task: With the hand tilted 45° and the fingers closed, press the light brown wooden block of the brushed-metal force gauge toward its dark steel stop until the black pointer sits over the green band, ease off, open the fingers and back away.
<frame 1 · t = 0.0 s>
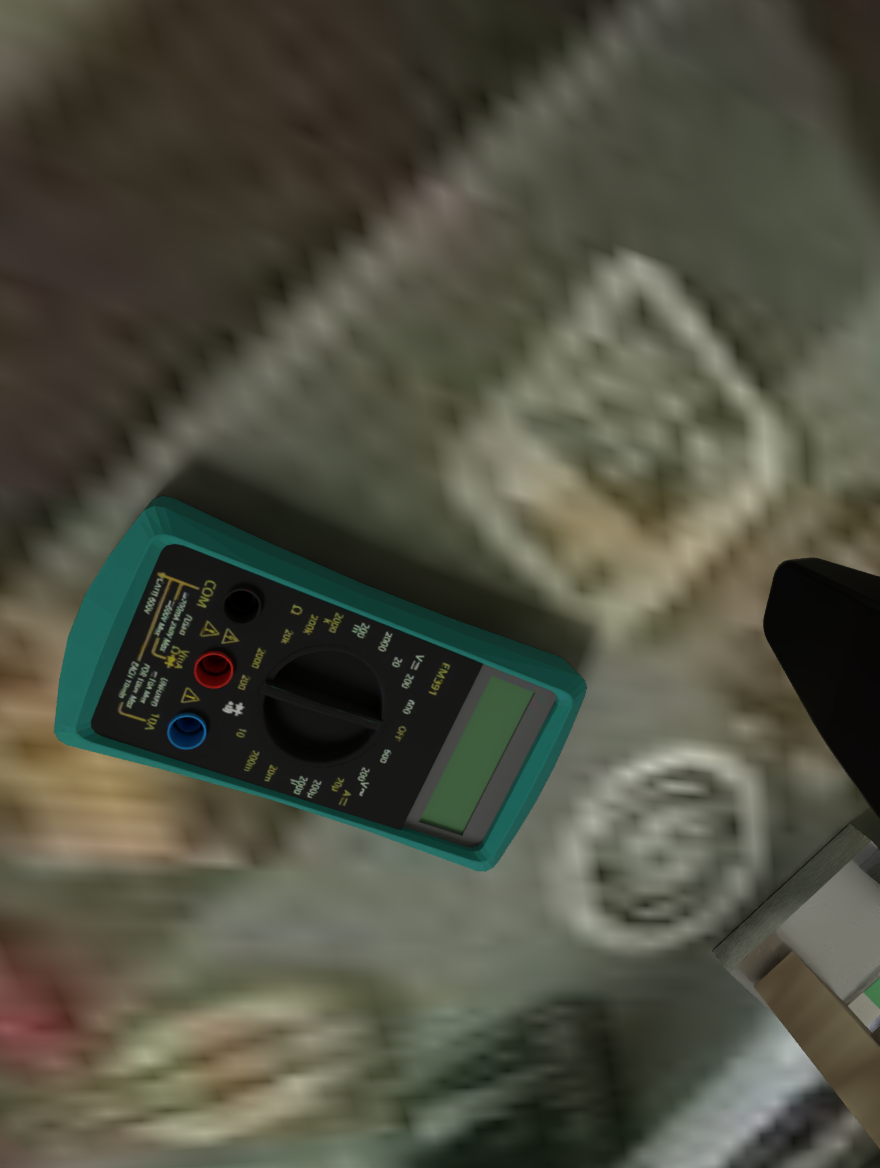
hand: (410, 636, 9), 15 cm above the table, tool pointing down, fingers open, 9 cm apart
gauge base: (820, 928, 33), on the table
digital multimeter: (331, 677, 26), on the table
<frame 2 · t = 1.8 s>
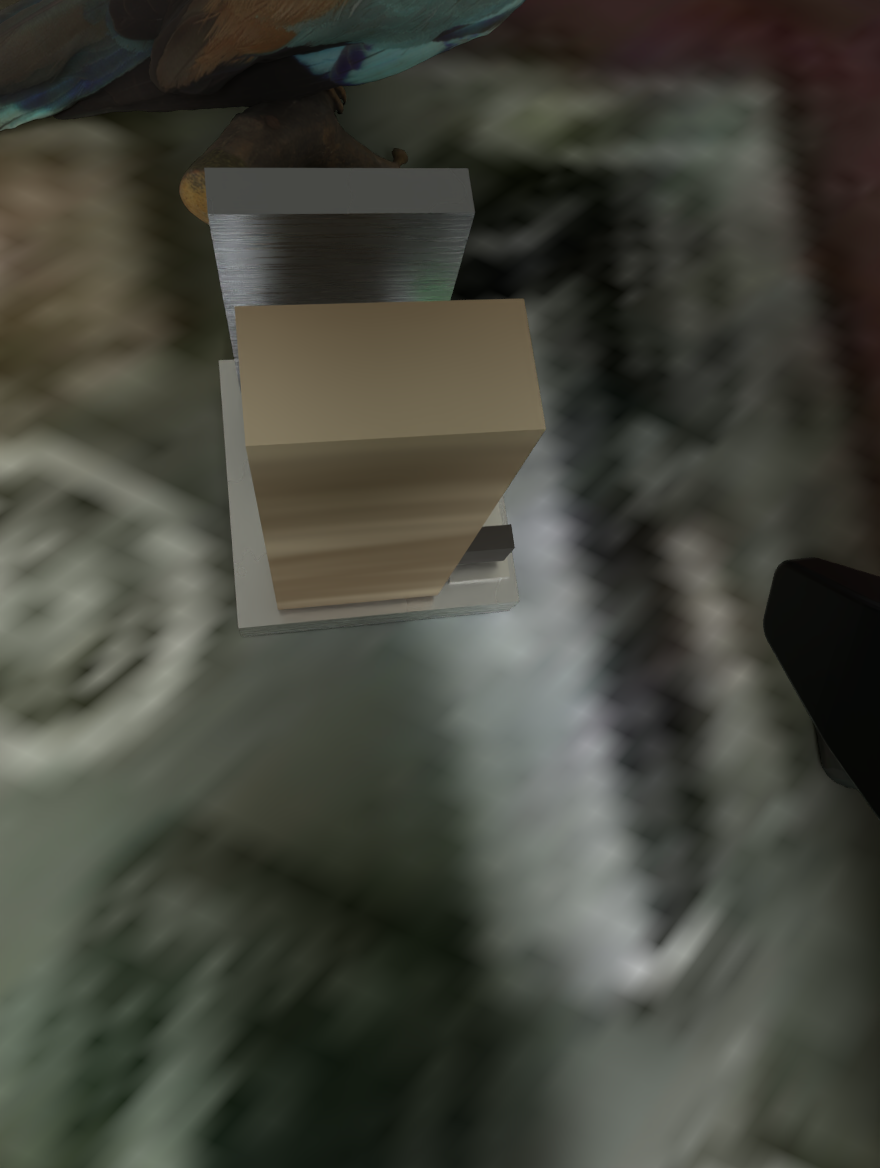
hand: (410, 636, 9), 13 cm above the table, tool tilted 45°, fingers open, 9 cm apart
gauge base: (343, 496, 22), on the table
light brown wooden block: (412, 481, 16), point 7 cm above the table, slide at 0.0 cm
bird figurine: (300, 166, 25), on the table
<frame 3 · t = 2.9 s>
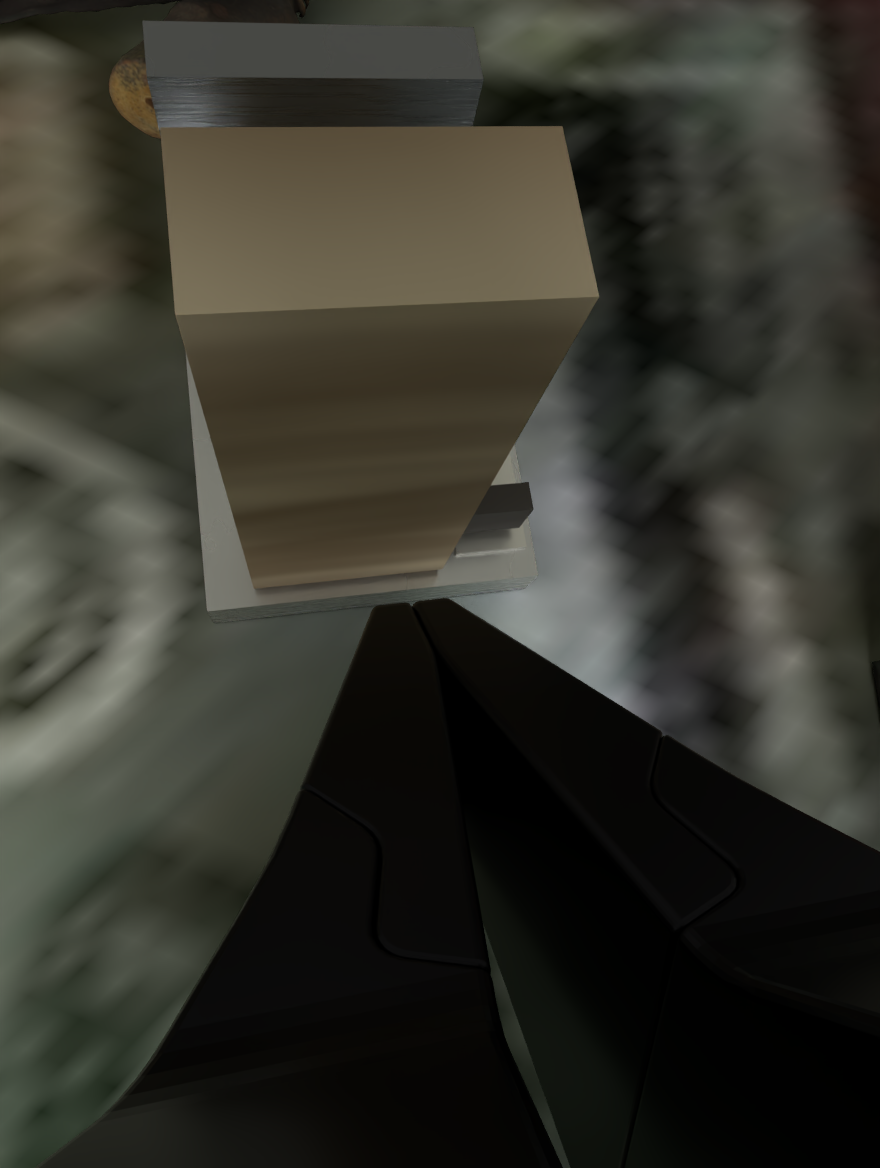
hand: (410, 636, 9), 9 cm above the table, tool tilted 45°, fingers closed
gauge base: (330, 460, 19), on the table
light brown wooden block: (411, 416, 13), point 6 cm above the table, slide at 0.0 cm
bird figurine: (259, 87, 22), on the table
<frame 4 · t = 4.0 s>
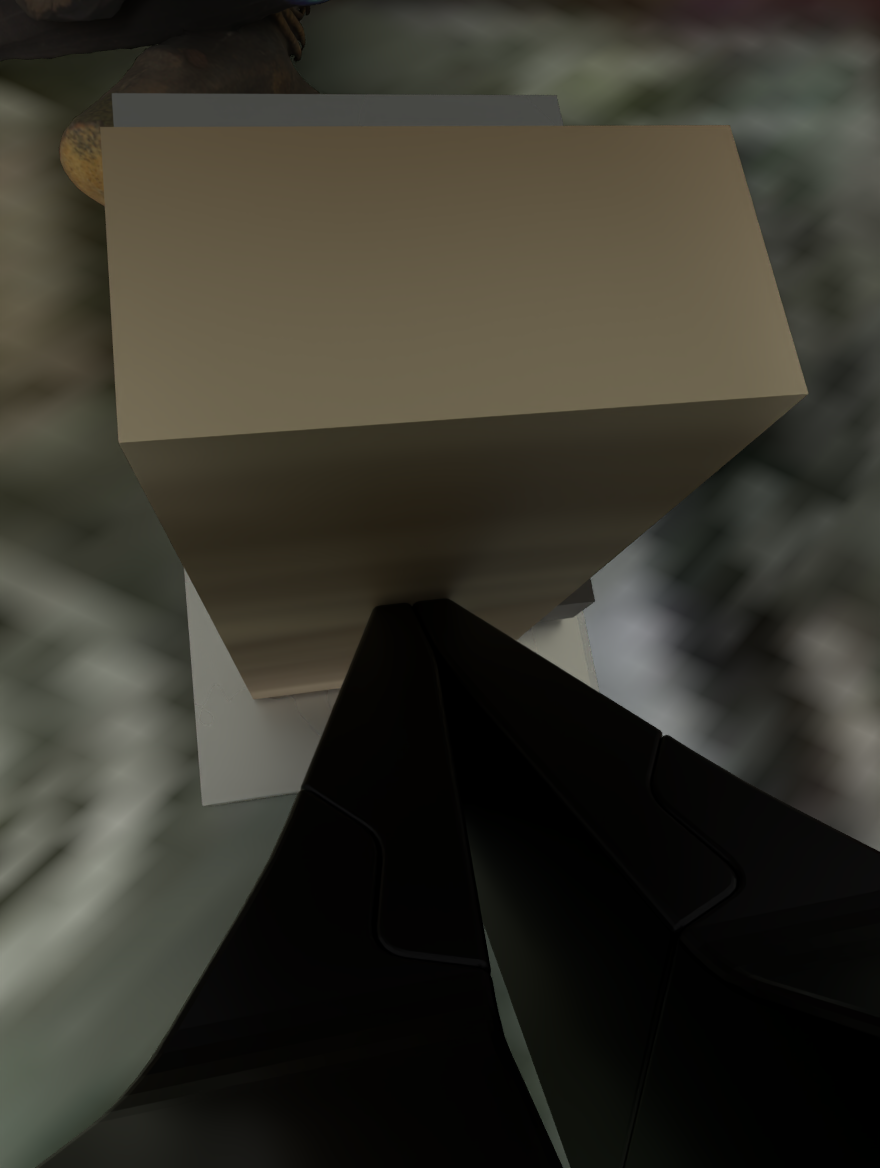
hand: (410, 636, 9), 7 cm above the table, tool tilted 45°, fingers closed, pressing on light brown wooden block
gauge base: (351, 593, 16), on the table
light brown wooden block: (459, 510, 10), point 7 cm above the table, slide at 1.3 cm, touching gripper
bird figurine: (248, 139, 19), on the table
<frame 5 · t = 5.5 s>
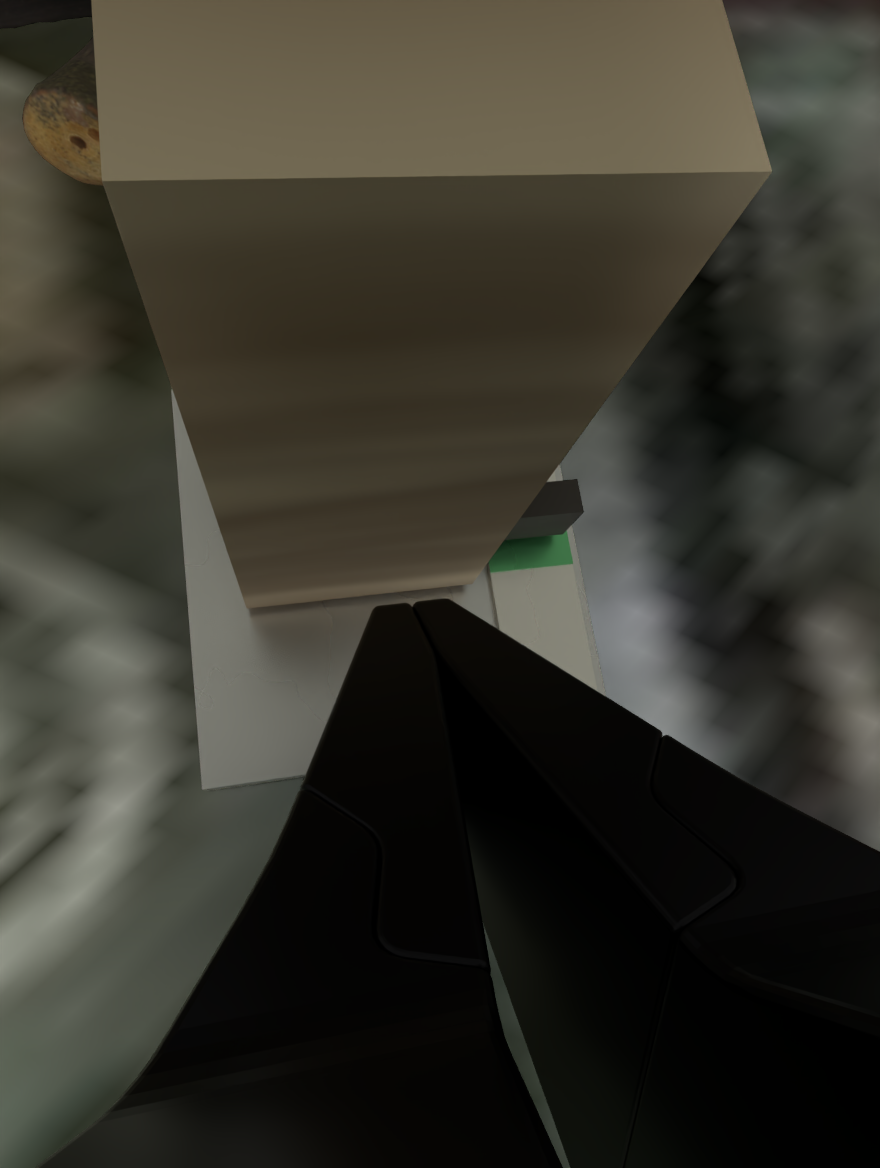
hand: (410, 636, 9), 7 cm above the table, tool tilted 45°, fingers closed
gauge base: (353, 577, 16), on the table
light brown wooden block: (446, 390, 10), point 7 cm above the table, slide at 2.6 cm
bird figurine: (221, 112, 19), on the table
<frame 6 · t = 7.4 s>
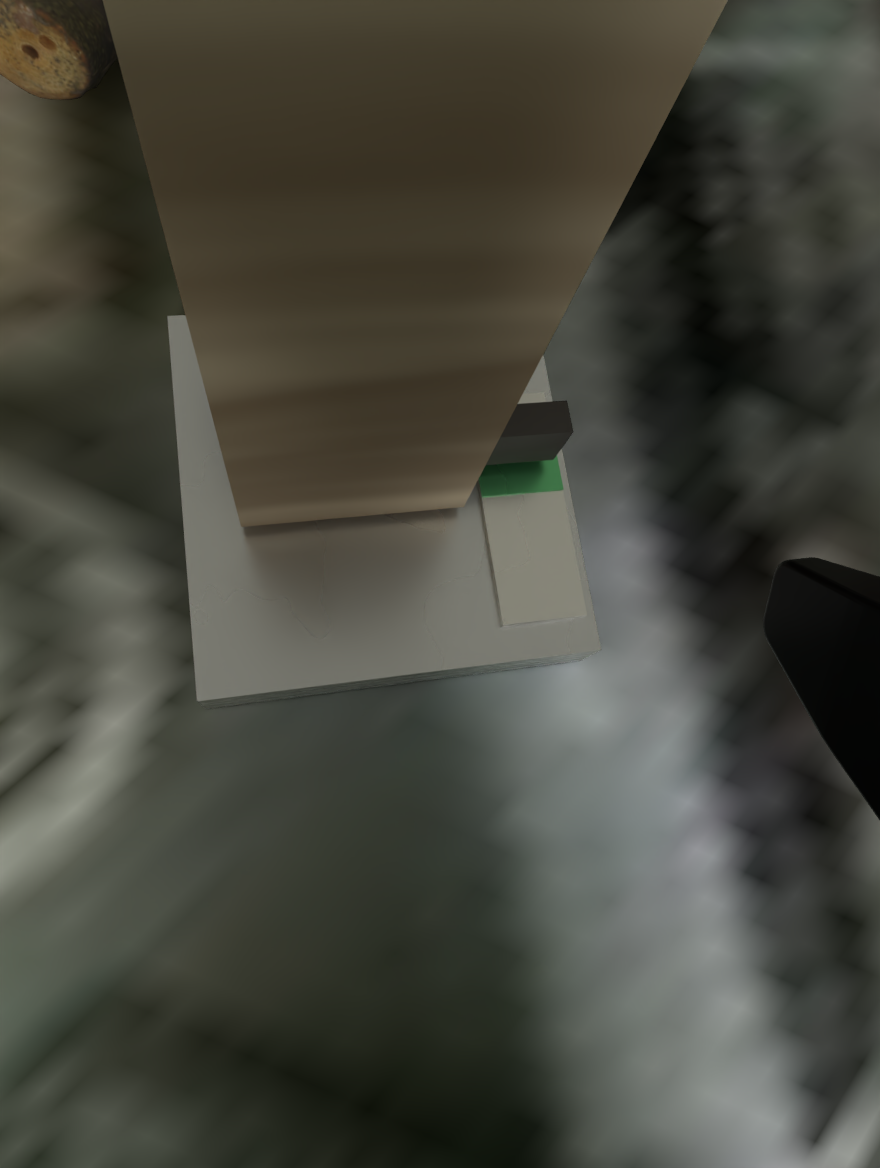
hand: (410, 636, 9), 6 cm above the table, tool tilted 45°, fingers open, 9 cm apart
gauge base: (346, 505, 16), on the table
light brown wooden block: (434, 284, 10), point 7 cm above the table, slide at 2.6 cm
bird figurine: (181, 43, 19), on the table
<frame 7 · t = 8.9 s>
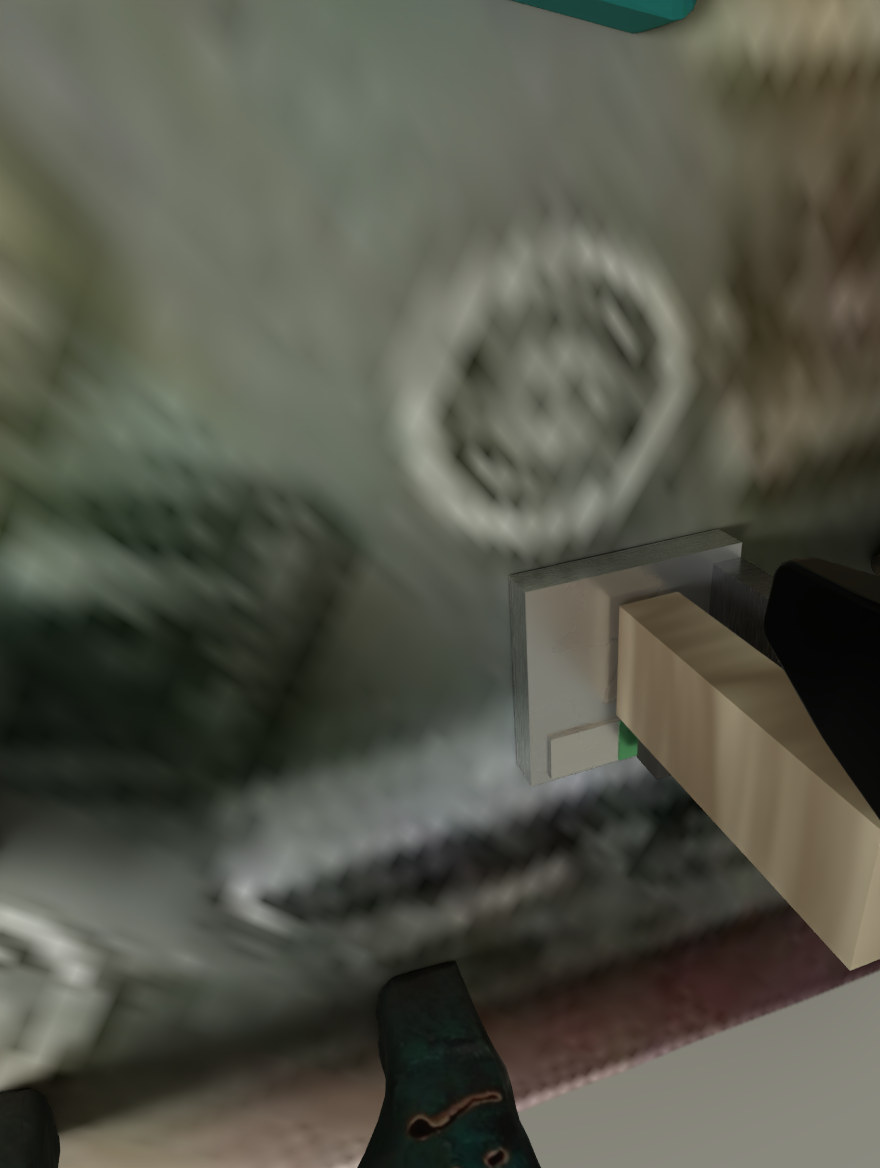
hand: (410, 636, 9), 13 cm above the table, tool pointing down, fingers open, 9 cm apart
gauge base: (615, 634, 26), on the table
light brown wooden block: (753, 772, 21), point 6 cm above the table, slide at 2.6 cm
green animal figurine: (238, 1053, 29), on the table
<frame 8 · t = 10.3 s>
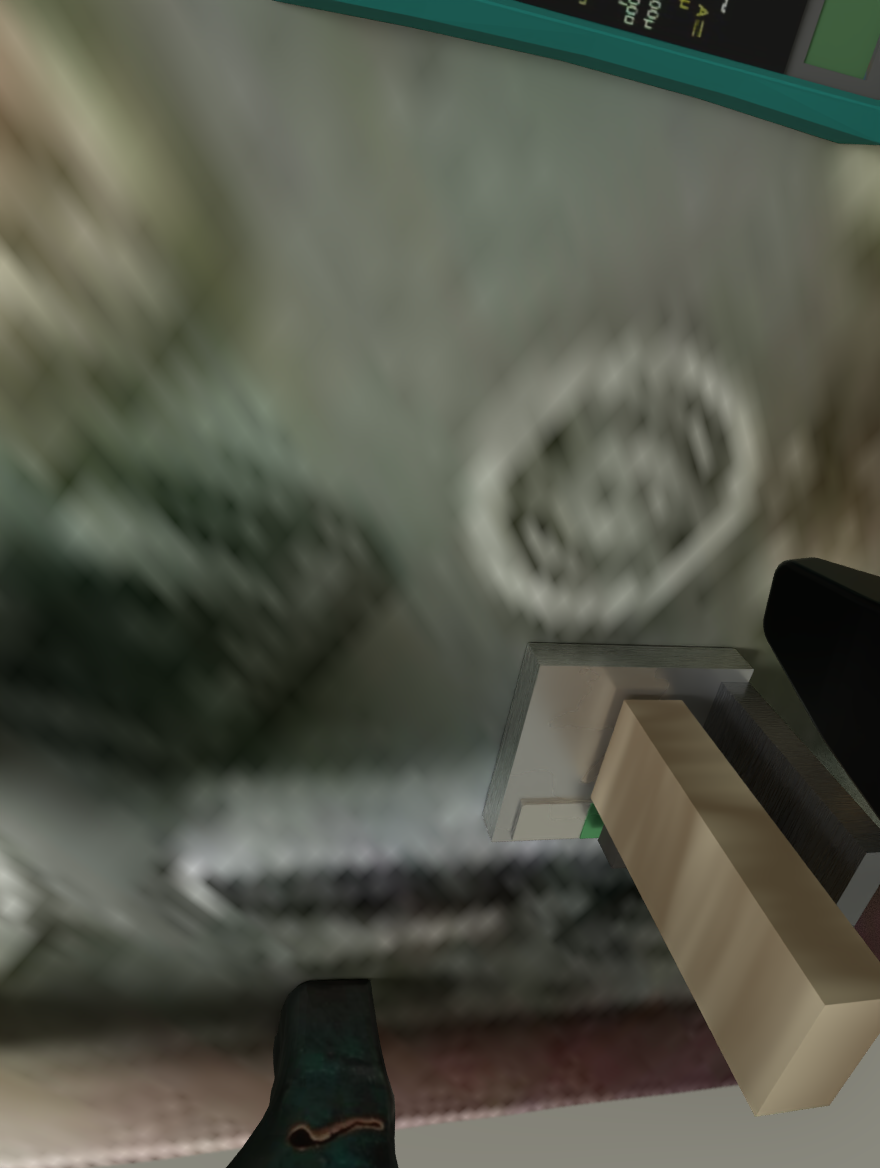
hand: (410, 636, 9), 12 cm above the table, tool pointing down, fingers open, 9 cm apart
gauge base: (609, 720, 27), on the table
light brown wooden block: (709, 896, 22), point 7 cm above the table, slide at 2.6 cm
green animal figurine: (141, 1015, 30), on the table
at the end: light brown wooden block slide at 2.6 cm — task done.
